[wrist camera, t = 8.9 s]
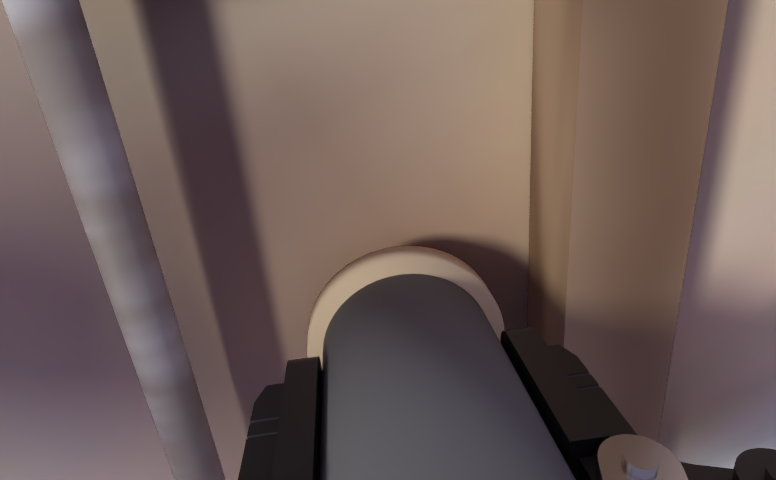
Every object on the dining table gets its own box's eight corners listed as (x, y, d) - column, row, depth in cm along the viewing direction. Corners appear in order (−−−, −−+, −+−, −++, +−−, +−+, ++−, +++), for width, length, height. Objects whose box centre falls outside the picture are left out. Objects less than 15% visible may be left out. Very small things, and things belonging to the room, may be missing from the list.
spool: (323, 419, 14) (311, 904, 6) (293, 259, 12) (221, 676, 4) (496, 393, 15) (694, 826, 7) (494, 233, 13) (777, 577, 5)
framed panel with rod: (248, 620, 19) (236, 699, 17) (-41, -247, 9) (-168, -342, 7) (594, 561, 20) (627, 628, 18) (684, -292, 10) (790, -391, 8)
